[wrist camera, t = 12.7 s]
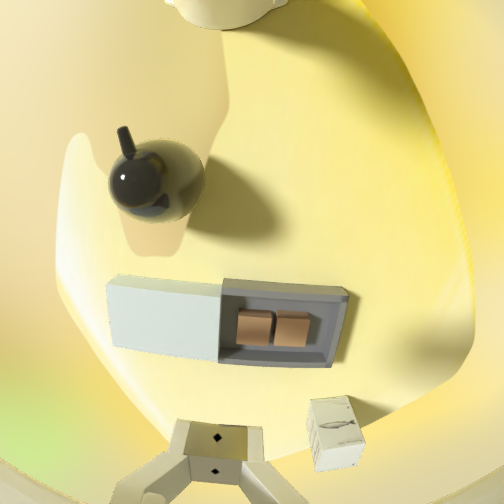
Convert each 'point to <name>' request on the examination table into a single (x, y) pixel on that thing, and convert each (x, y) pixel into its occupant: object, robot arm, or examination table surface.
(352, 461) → the supplement box
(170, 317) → the pale grey flat block
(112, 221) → the examination table surface
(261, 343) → the tile
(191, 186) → the pump dispenser
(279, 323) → the tile
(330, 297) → the tray
